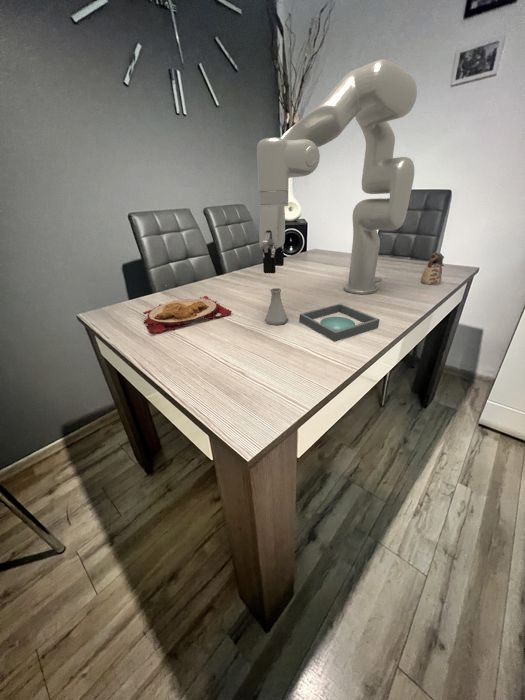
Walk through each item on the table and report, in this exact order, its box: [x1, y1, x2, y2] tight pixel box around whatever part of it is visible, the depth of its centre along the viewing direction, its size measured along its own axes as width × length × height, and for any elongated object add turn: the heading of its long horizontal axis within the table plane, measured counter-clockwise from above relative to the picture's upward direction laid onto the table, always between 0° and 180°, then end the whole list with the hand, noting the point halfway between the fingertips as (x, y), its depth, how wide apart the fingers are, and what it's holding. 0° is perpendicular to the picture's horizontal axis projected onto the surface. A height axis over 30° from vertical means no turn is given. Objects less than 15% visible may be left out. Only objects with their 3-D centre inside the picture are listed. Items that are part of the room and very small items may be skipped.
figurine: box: [420, 252, 445, 286], centre depth 109 cm, size 7×7×12 cm
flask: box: [264, 287, 289, 326], centre depth 83 cm, size 7×7×10 cm
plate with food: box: [142, 295, 233, 334], centre depth 94 cm, size 25×26×4 cm
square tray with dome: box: [298, 303, 380, 342], centre depth 80 cm, size 16×16×2 cm
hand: (274, 269), depth 77 cm, fingers open, 9 cm apart
